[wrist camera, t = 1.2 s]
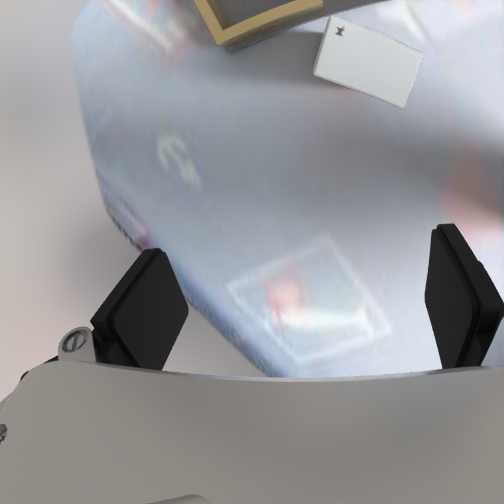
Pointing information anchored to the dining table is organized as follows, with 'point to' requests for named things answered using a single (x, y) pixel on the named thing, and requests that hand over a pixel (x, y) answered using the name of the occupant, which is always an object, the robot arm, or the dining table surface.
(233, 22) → the plate
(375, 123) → the dining table surface
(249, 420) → the robot arm
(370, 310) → the dining table surface
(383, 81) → the skincare box
